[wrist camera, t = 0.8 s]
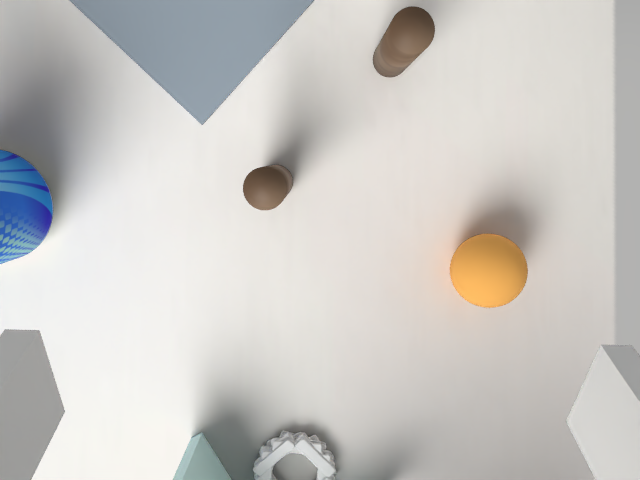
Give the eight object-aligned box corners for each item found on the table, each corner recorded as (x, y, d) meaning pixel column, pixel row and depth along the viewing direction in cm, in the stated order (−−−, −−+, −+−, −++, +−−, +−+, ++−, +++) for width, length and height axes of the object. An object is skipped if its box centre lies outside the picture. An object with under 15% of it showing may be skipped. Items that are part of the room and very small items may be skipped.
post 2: (414, 58, 39) (444, 29, 30) (390, 84, 39) (412, 63, 30) (390, 33, 38) (412, -4, 30) (365, 59, 39) (380, 31, 30)
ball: (525, 261, 41) (556, 277, 36) (475, 309, 42) (499, 332, 36) (477, 214, 41) (502, 223, 35) (428, 264, 41) (444, 280, 36)
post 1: (299, 181, 40) (295, 187, 31) (276, 205, 40) (265, 219, 32) (275, 157, 40) (263, 158, 31) (252, 182, 40) (234, 189, 31)
